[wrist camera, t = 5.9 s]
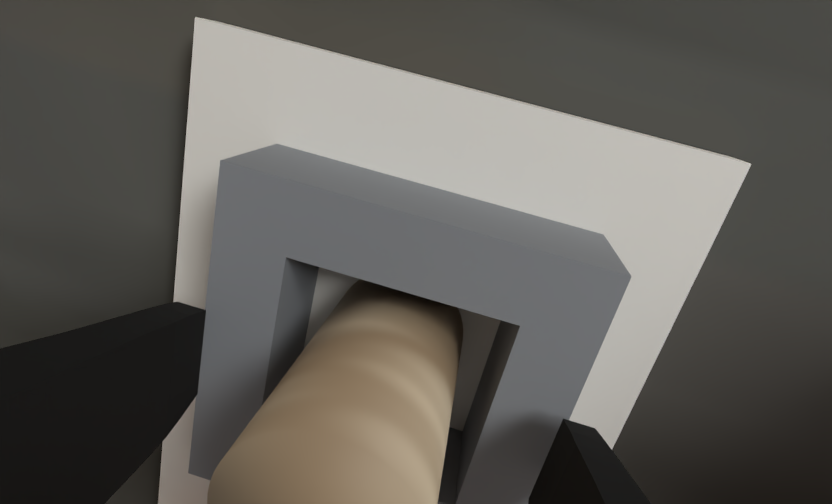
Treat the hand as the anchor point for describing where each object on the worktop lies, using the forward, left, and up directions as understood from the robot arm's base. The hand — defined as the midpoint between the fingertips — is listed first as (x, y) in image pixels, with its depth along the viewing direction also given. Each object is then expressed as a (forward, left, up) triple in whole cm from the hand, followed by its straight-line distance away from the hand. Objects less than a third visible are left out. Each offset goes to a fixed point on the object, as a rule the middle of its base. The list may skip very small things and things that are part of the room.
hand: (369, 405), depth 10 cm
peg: (0, 0, -3) cm, 3 cm away
